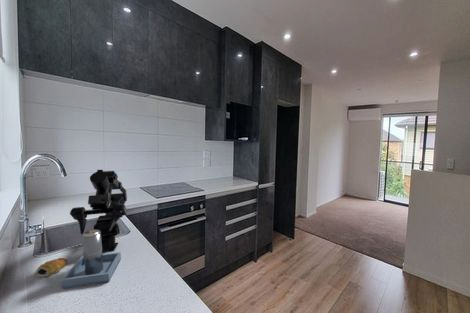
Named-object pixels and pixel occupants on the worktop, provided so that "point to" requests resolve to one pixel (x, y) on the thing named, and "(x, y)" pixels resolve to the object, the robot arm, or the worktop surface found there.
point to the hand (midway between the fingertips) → (95, 232)
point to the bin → (80, 279)
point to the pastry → (51, 267)
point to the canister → (92, 252)
